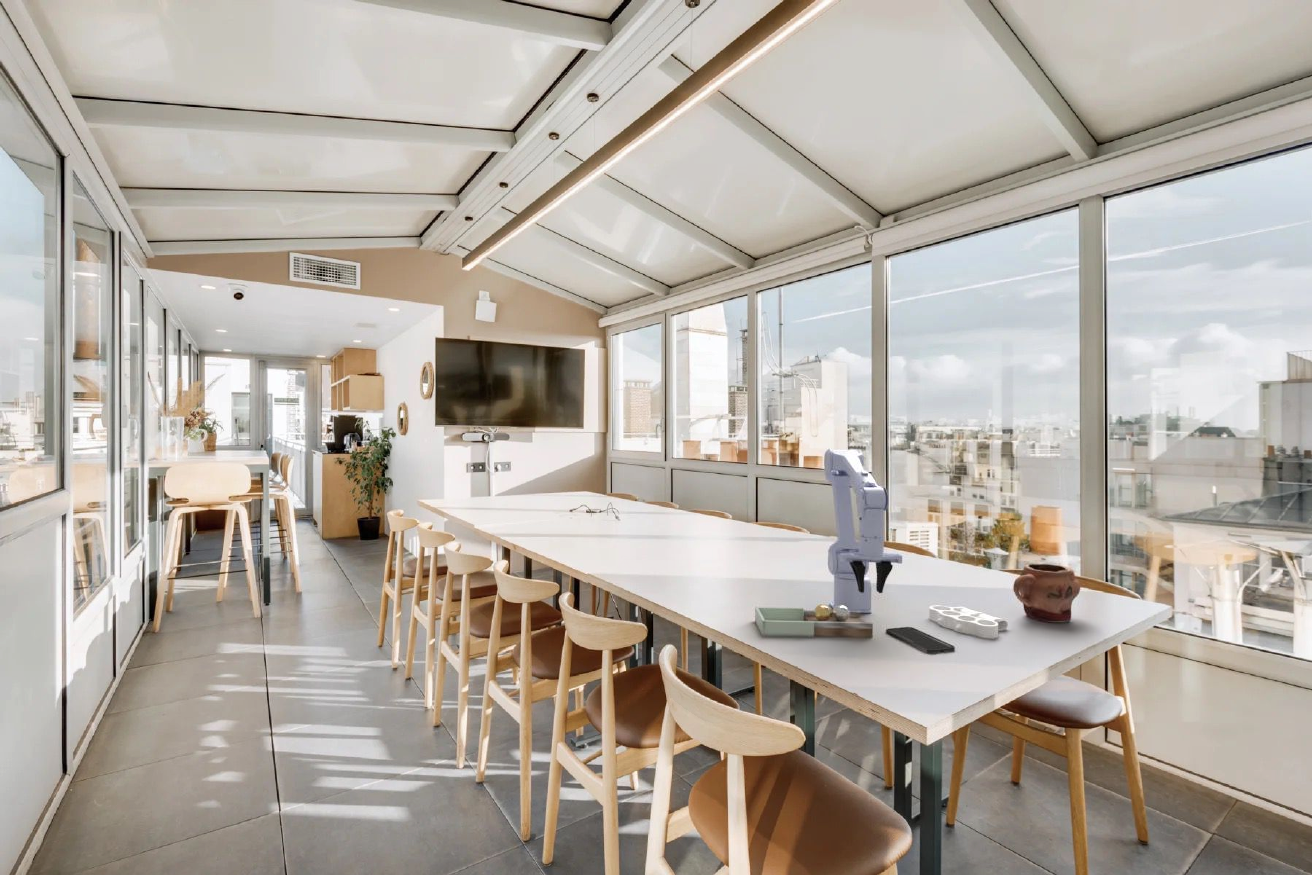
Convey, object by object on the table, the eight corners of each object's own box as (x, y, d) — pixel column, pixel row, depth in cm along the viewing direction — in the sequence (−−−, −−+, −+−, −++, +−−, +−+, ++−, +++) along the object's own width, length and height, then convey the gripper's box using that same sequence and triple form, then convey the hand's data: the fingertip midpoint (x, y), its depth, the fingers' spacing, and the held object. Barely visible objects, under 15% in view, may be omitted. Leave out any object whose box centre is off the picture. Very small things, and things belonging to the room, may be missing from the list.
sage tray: (802, 621, 153) (802, 607, 153) (813, 637, 142) (814, 622, 142) (755, 620, 153) (755, 606, 153) (762, 636, 142) (762, 621, 142)
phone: (910, 626, 148) (957, 647, 134) (910, 631, 148) (957, 652, 134) (883, 629, 146) (927, 650, 132) (883, 633, 146) (927, 655, 132)
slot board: (858, 623, 152) (859, 610, 152) (872, 637, 142) (872, 623, 142) (803, 622, 152) (803, 609, 152) (812, 635, 142) (813, 622, 142)
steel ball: (846, 619, 149) (846, 603, 149) (851, 624, 145) (851, 607, 145) (830, 618, 149) (830, 602, 149) (835, 623, 145) (835, 607, 145)
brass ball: (828, 618, 149) (828, 602, 149) (832, 623, 145) (833, 607, 145) (812, 618, 149) (812, 602, 149) (816, 623, 145) (816, 607, 145)
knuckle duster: (1019, 635, 147) (978, 643, 141) (955, 614, 163) (916, 620, 157) (1020, 621, 147) (978, 628, 141) (956, 601, 163) (916, 607, 157)
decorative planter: (1039, 630, 149) (1040, 574, 149) (995, 616, 160) (996, 564, 160) (1092, 622, 157) (1094, 568, 156) (1047, 609, 168) (1048, 559, 168)
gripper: (846, 538, 143) (845, 595, 143) (907, 539, 143) (906, 596, 143) (837, 533, 150) (836, 587, 150) (896, 534, 150) (895, 589, 150)
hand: (870, 591), depth 147 cm, fingers open, 4 cm apart
